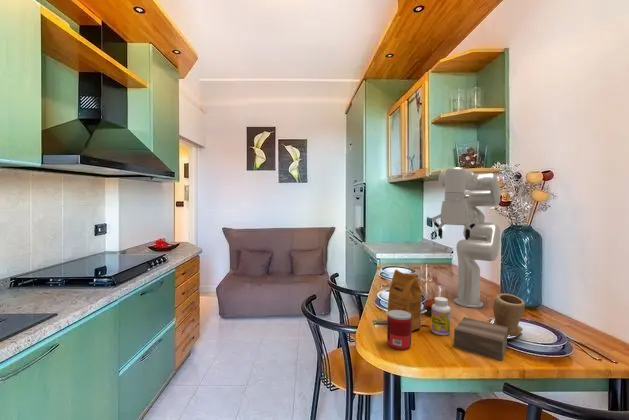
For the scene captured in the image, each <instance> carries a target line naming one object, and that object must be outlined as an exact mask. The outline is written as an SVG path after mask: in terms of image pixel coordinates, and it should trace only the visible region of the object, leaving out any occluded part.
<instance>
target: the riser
mask: <svg viewBox="0 0 629 420" xmlns="http://www.w3.org/2000/svg"><path fill="white" fill-rule="evenodd" d="M507 337H508V327H505V326H501V325H496V324H492V322H487V321H482V320H479V319H475V318H474V319H473V318H469V317H466V316H464V317H463V318H462V319H461V320H460V322H459V323H458V324H457V325H456V326H455V328H454V329H453V347H454V348H456V349H461V350H463V351H467V352H471V353H475V354H478V355H482V356H485V357H487V358H492V359H495V360H499V361H503V360H504V356H505V353H506V351H507V347H508V345H507Z"/></svg>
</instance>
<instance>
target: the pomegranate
mask: <svg viewBox="0 0 629 420" xmlns="http://www.w3.org/2000/svg"><path fill="white" fill-rule="evenodd" d="M434 300H435V298H428V299H426V300H424V302H423V308H424V309H425V311H426V310H427V311H426V312H427V317H429V316H430V315H431V314H432V305H433V304H435V301H434Z"/></svg>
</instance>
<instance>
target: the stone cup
mask: <svg viewBox="0 0 629 420" xmlns="http://www.w3.org/2000/svg"><path fill="white" fill-rule="evenodd" d="M493 301H494V302H493V305H492V306H493V309H492V310H493V315H494V320H493V321H494V323H493V324H496V325H501V326H505V327H508V335H510V336H517V337H518V336H519V335H520V333H522V331H523V330H524V329H523V328H522V326H520V325H519V323H520V321H521V319H522V317H523V315H524V314H525V307H526V303H525V300H523V299H522V298H520V297H518V296H517V295H514V294H510V293H499V294H497V295H496V296H495V298H494V299H493Z"/></svg>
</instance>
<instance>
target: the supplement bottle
mask: <svg viewBox="0 0 629 420" xmlns="http://www.w3.org/2000/svg"><path fill="white" fill-rule="evenodd" d="M434 299H435V300H434V301H435V304H433V305H432V314H430V315H431V317H430V319H431V322H430V323H431V325H430V328H431V329H430V330H431V331H432V333H434V334H436V335H438V336H439V335H440V336H448V335H449V334H450V333H451V311H452V309H451V307H450V306H449V305H448V303H449V300H448V298H446V297H444V296H443V297H442V296H436V297H434Z"/></svg>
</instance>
